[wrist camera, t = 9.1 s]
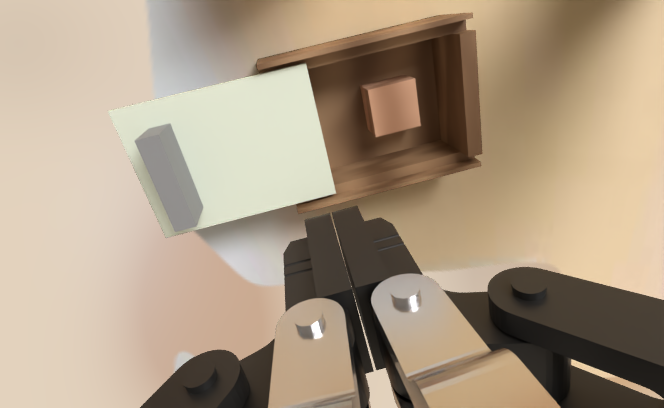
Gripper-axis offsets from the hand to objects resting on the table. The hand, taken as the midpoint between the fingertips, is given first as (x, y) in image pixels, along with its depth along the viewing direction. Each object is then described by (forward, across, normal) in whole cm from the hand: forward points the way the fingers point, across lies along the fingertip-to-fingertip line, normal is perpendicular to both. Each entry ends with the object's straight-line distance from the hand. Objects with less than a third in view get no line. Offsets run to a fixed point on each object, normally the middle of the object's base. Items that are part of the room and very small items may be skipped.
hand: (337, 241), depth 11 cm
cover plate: (+21, +6, +2) cm, 22 cm away
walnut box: (+26, -6, +2) cm, 27 cm away
